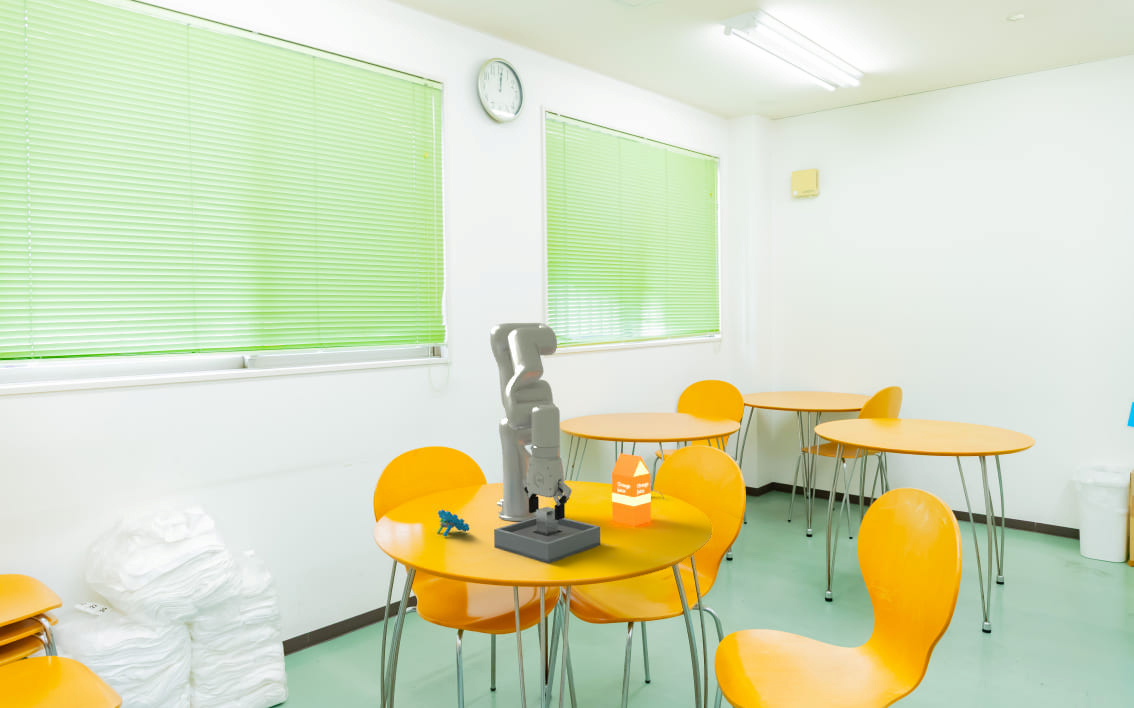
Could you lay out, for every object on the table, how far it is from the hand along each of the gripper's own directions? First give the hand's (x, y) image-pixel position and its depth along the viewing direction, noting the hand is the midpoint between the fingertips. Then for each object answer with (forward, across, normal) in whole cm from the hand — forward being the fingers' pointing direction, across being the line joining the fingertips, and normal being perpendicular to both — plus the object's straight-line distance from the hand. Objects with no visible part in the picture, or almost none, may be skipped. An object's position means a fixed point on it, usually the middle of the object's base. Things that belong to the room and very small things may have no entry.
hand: (546, 515), depth 189 cm
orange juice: (+9, +3, +34) cm, 35 cm away
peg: (+7, +1, 0) cm, 7 cm away
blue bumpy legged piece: (+10, -26, -8) cm, 29 cm away
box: (+8, +1, 0) cm, 8 cm away
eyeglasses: (+10, -10, +55) cm, 57 cm away
